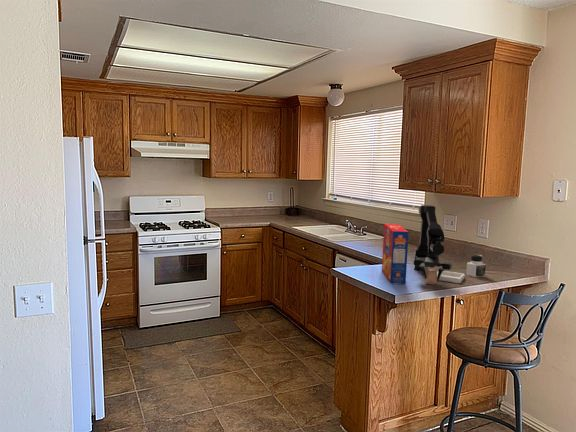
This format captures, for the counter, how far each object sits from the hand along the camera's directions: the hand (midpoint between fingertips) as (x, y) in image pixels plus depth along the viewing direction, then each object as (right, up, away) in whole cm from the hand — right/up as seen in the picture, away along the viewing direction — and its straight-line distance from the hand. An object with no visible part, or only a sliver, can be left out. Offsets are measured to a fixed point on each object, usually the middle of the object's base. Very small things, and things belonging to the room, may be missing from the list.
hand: (431, 279), depth 235 cm
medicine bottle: (+31, -1, +19) cm, 36 cm away
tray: (+13, -1, +10) cm, 16 cm away
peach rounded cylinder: (0, -2, 0) cm, 2 cm away
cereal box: (-18, 0, +11) cm, 21 cm away
